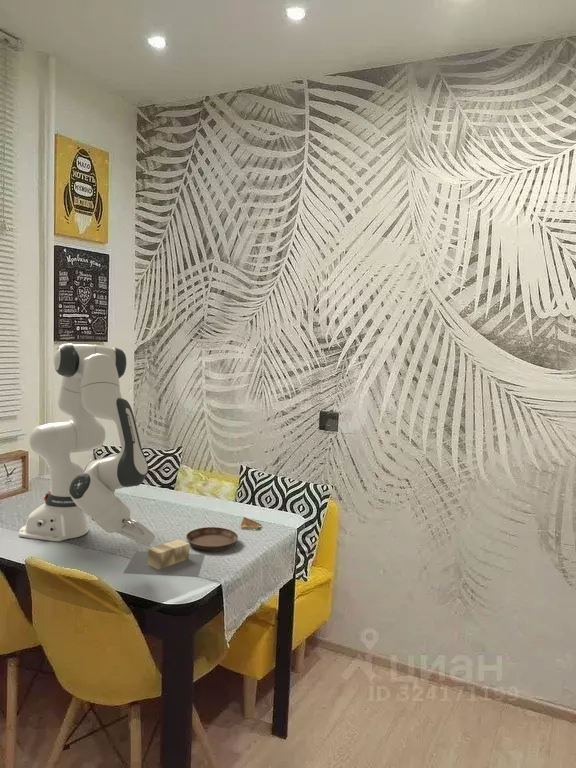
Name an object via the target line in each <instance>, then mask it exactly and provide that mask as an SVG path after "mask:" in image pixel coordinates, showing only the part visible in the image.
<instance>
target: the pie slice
mask: <svg viewBox="0 0 576 768" xmlns="http://www.w3.org/2000/svg"><path fill="white" fill-rule="evenodd" d="M259 526H261V527H262V526H263V525H262V524H261V523H259V522H258V521H254V520H253V519H250V518H247V517H245V516H243V519H242V521H241V524H240V529H241V528H244V529H243V530H249V529H256V530H258V529H259V528H260V527H259ZM258 527H259V528H258Z"/></svg>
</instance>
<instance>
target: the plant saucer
mask: <svg viewBox="0 0 576 768" xmlns="http://www.w3.org/2000/svg"><path fill="white" fill-rule="evenodd" d="M185 535H186V536H185V537H186V540H187V543H189V545H190V546H192V547H193V549H196V550H198V549H199V551H202V550H203V551H204V552H212V551H213V552H222V551H225V549H226V550H228V549H230V548H231V547H232V546H234V545H235V544H236V542H237V540H238V538H239V536H238V534H237V532H235V531H234V530H232V529H228V528H224V527H215V526H207V527H199V528H196V529H193V530H191V531H189V532H188V533H187V534H185ZM221 550H222V551H221Z"/></svg>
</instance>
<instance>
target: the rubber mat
mask: <svg viewBox="0 0 576 768" xmlns="http://www.w3.org/2000/svg"><path fill="white" fill-rule="evenodd" d="M204 557H206V554H199V553H189V559H187V560H184V561H181V562H178V563H175V564H172V565H169V566H167V567H164V568H161V569H156V568H154V567H152V566H150V565H148V551H143V550H142V551H139V550H138V551H135V552H134V555H133V556H132V558H131V560H130V561H129V563H128V564H127V565H126V567H125V569H124V570H123V573H122V574H132V575H150V576H151V575H152V576H170V577H191V578H192V577H193V578H195V577H196V578H197V577H199V573H200V571H201V568H202V564H203V561H204Z"/></svg>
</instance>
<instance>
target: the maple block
mask: <svg viewBox="0 0 576 768" xmlns="http://www.w3.org/2000/svg"><path fill="white" fill-rule="evenodd" d="M147 552H148V565H150V566H152V567H154V568H156V569H161V568H164V567H167V566H169V565H172V564H175V563H178V562H181V561H184V560H187V559H189V554H190V543H189V542H188V541H187V542H186V541H184V540H182V539H175V540H172V541H169V542H165V543H162V544H159V545H156V546H153V547H149V548H148V549H147Z"/></svg>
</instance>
